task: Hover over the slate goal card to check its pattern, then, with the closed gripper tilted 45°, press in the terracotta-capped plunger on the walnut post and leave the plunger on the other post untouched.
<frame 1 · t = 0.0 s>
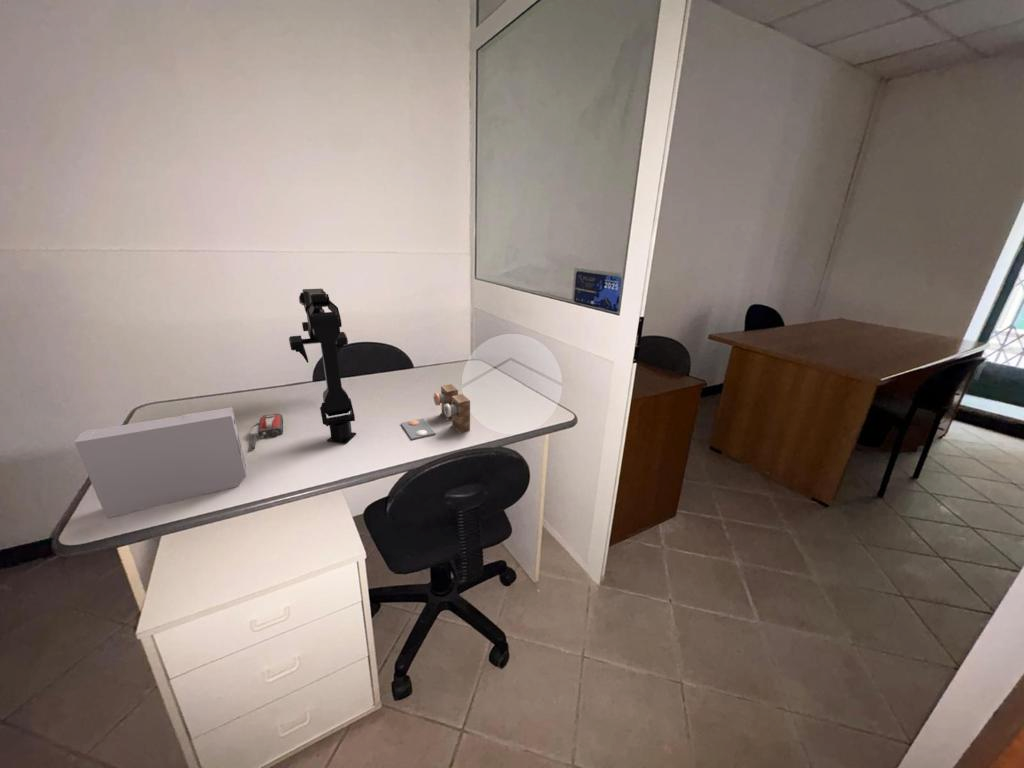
hand: (321, 360, 148), 15 cm above the table, tool pointing down, fingers open, 9 cm apart
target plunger: (444, 397, 141), point 7 cm above the table, slide at 0.0 cm
goal card: (417, 429, 134), on the table
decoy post: (461, 427, 137), on the table
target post: (449, 415, 145), on the table
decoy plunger: (455, 408, 133), point 7 cm above the table, slide at 0.0 cm
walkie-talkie: (268, 435, 128), on the table
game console: (183, 494, 99), on the table
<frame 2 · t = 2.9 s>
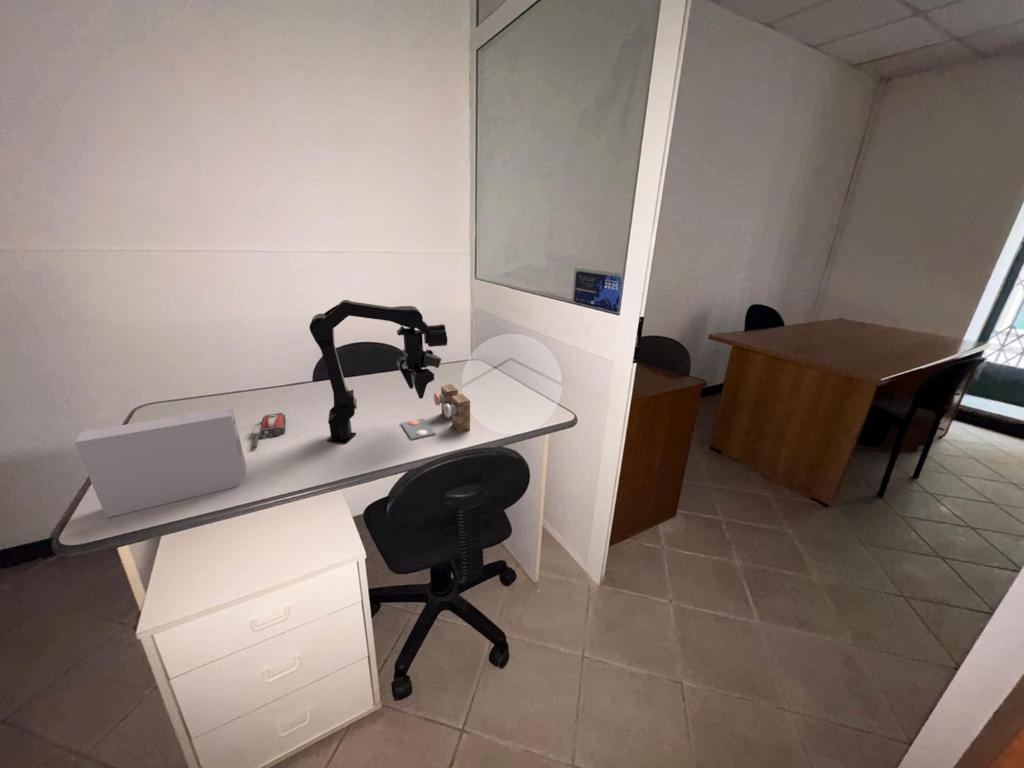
hand: (416, 393, 130), 13 cm above the table, tool pointing down, fingers open, 9 cm apart
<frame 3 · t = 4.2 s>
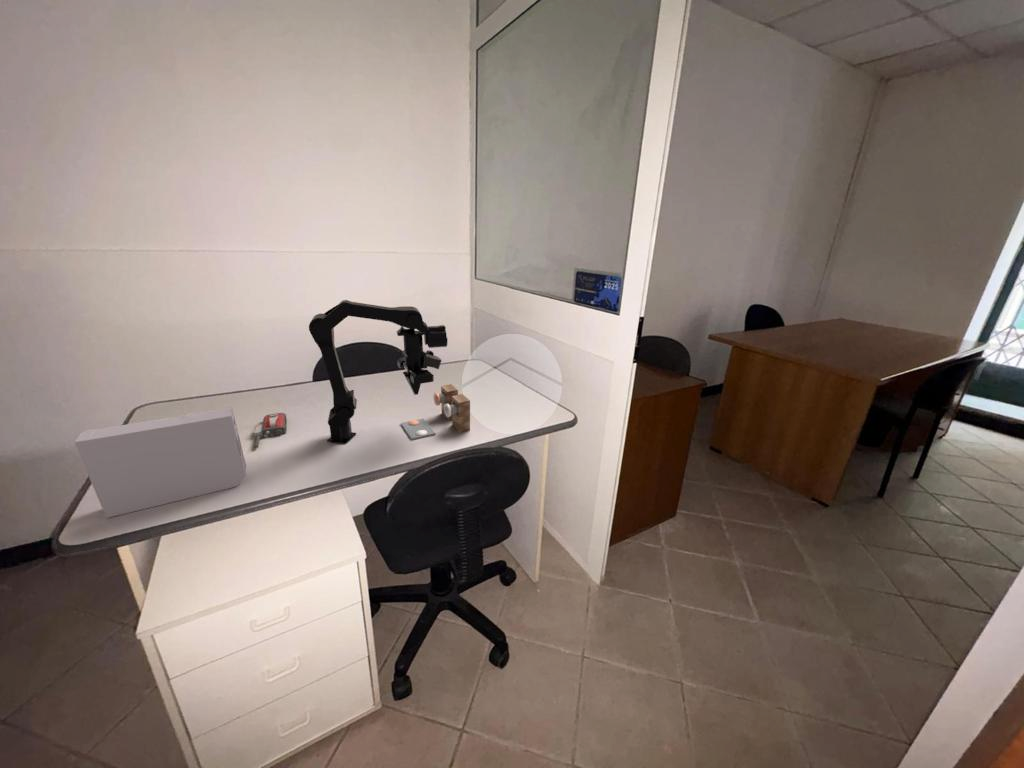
hand: (416, 394, 129), 13 cm above the table, tool pointing down, fingers closed
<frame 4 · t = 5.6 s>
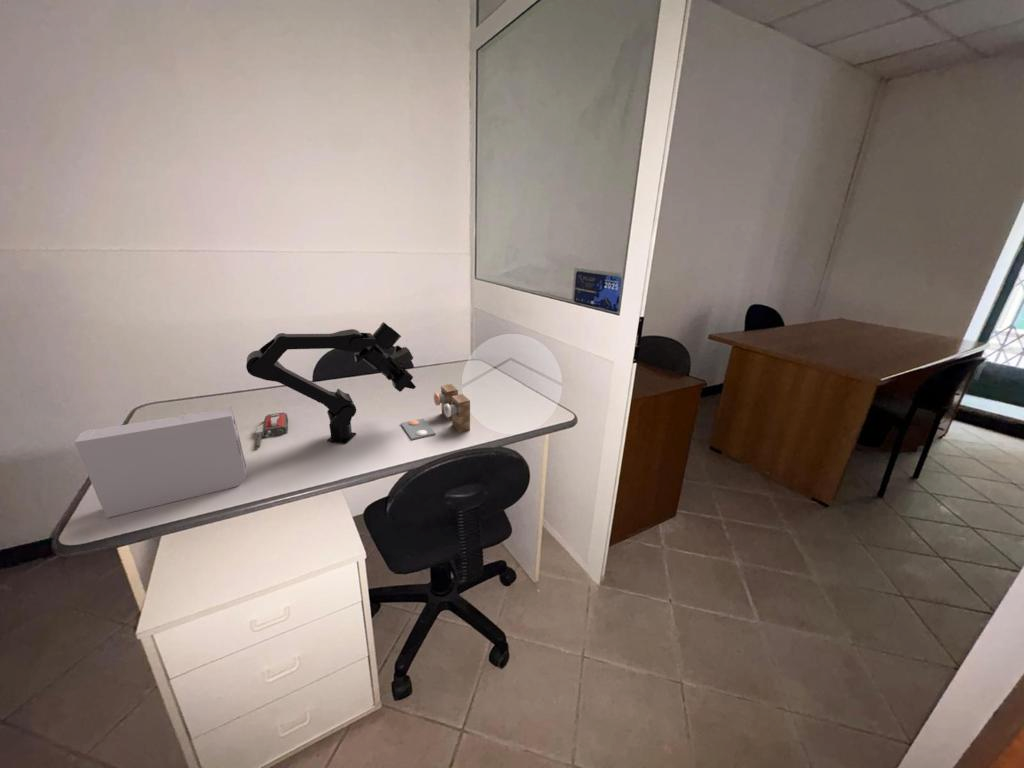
hand: (414, 387, 134), 13 cm above the table, tool tilted 45°, fingers closed
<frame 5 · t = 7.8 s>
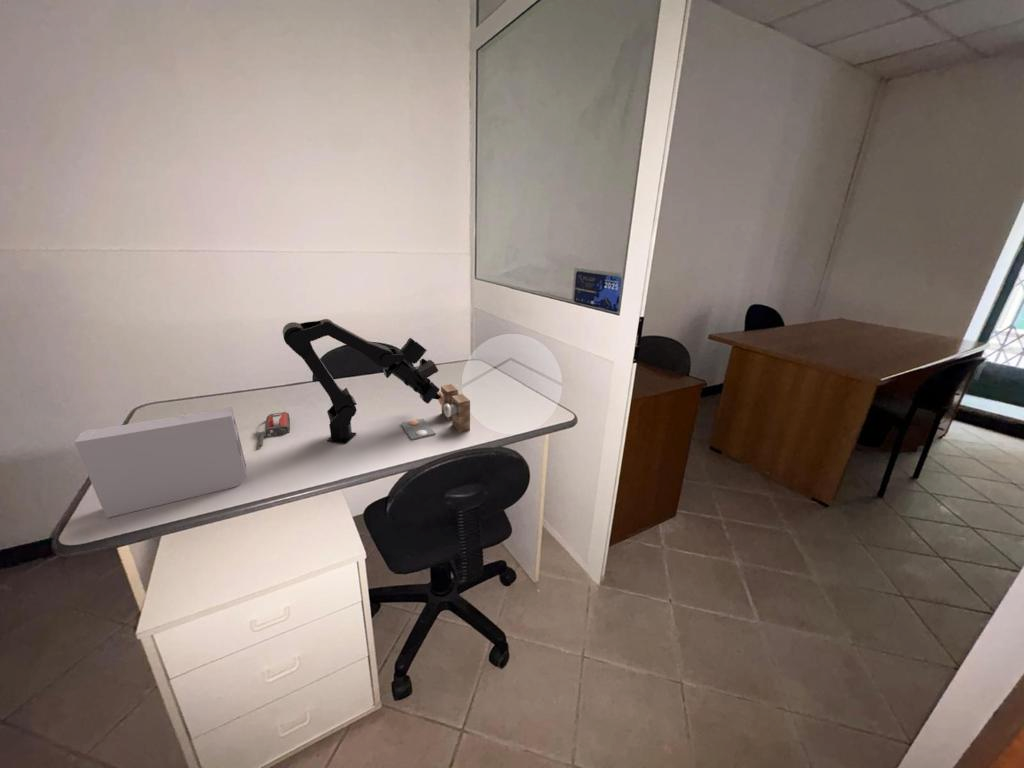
hand: (439, 398, 140), 8 cm above the table, tool tilted 45°, fingers closed, pressing on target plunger
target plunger: (448, 397, 142), point 8 cm above the table, slide at 1.6 cm, touching gripper
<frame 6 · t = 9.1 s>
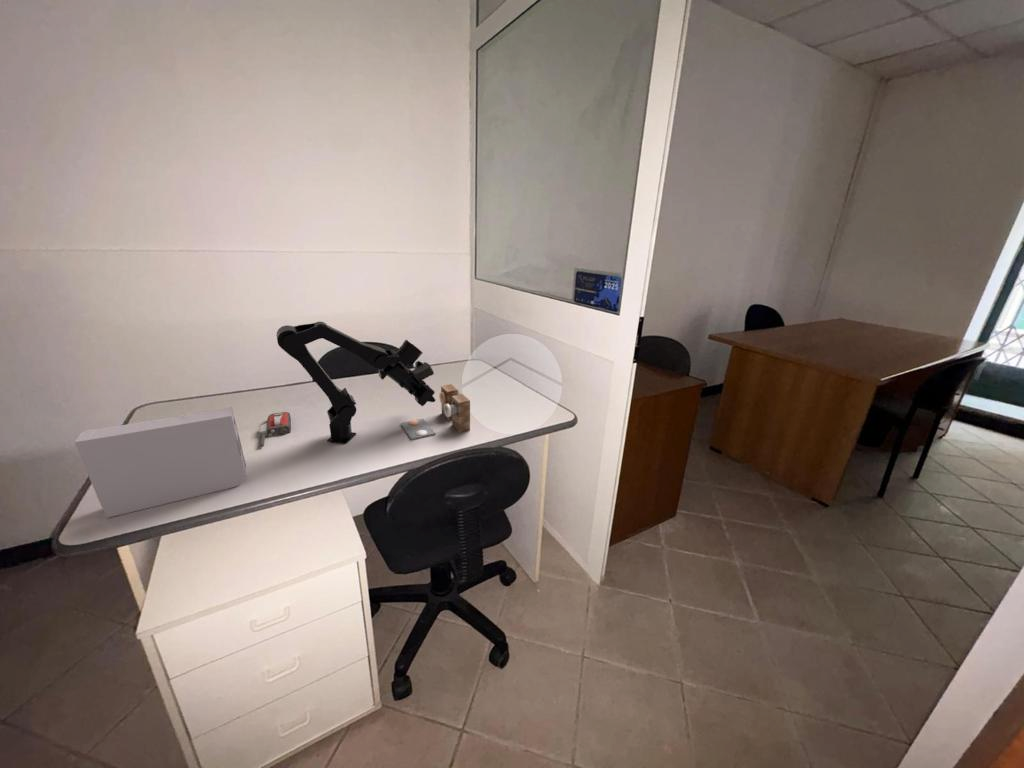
hand: (434, 400, 139), 7 cm above the table, tool tilted 45°, fingers closed
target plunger: (450, 396, 142), point 7 cm above the table, slide at 2.2 cm
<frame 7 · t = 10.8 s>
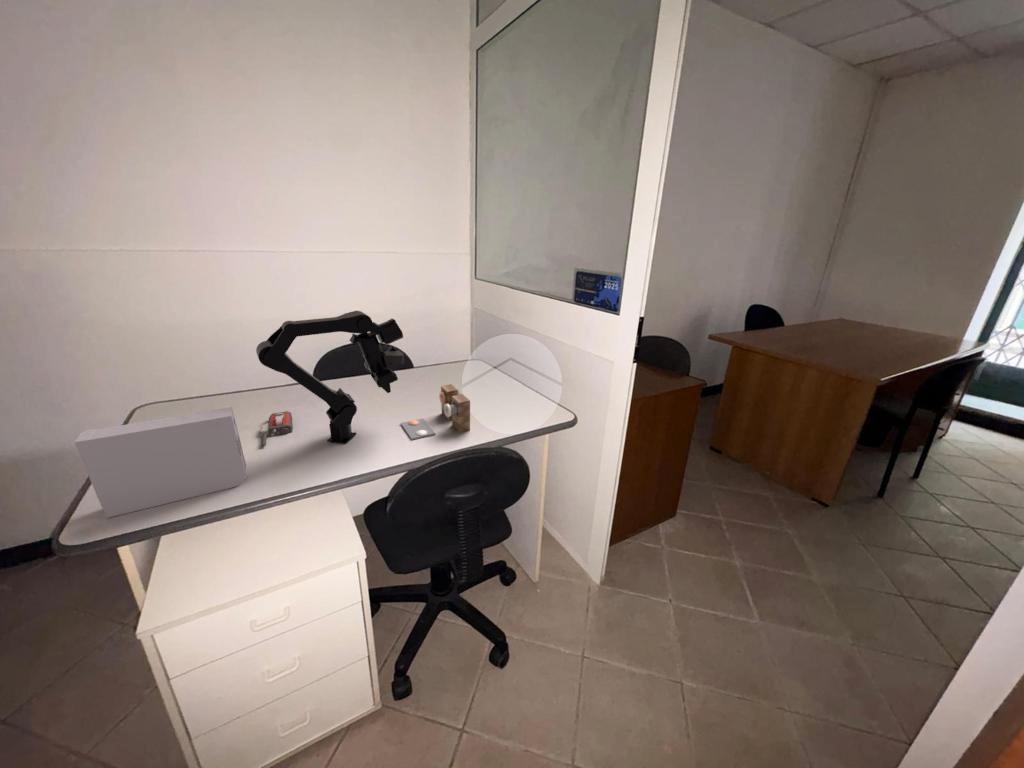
hand: (389, 392, 131), 13 cm above the table, tool tilted 15°, fingers closed
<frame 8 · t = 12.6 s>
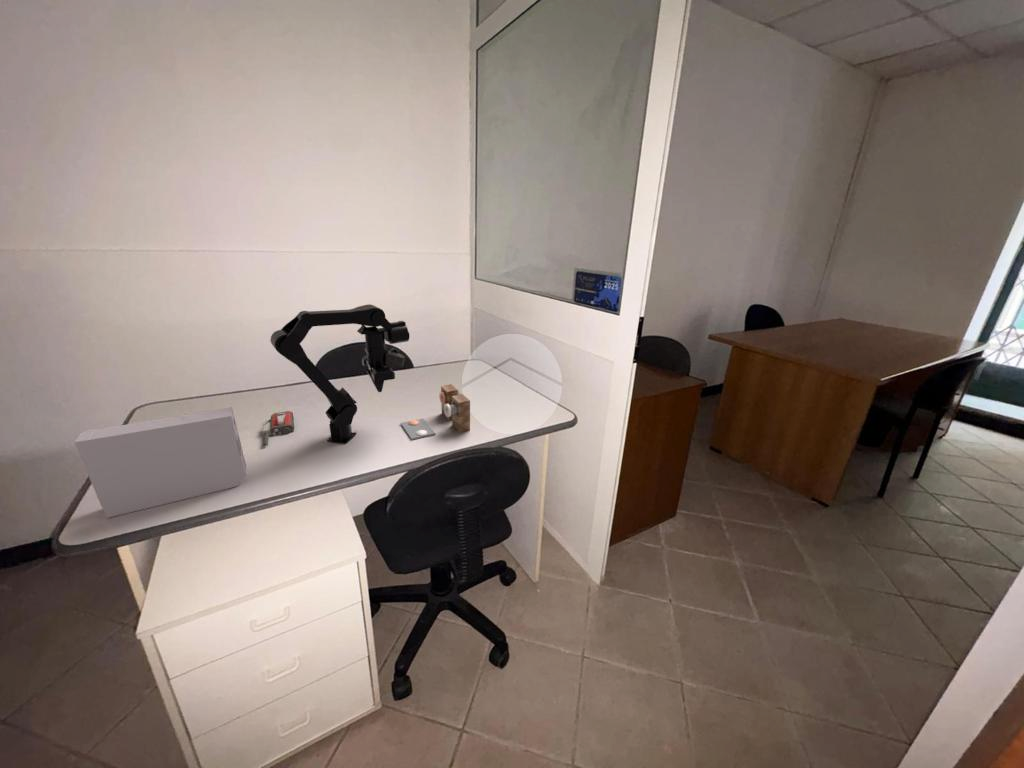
hand: (379, 391, 130), 13 cm above the table, tool pointing down, fingers closed
at the end: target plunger slide at 2.2 cm; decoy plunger slide at 0.0 cm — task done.
